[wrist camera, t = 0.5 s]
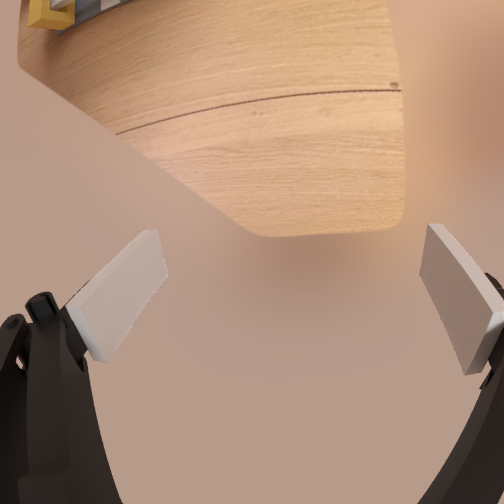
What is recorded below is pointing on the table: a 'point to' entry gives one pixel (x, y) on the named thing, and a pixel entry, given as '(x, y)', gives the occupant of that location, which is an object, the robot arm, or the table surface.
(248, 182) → the table surface
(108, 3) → the rail
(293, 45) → the table surface
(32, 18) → the collar
